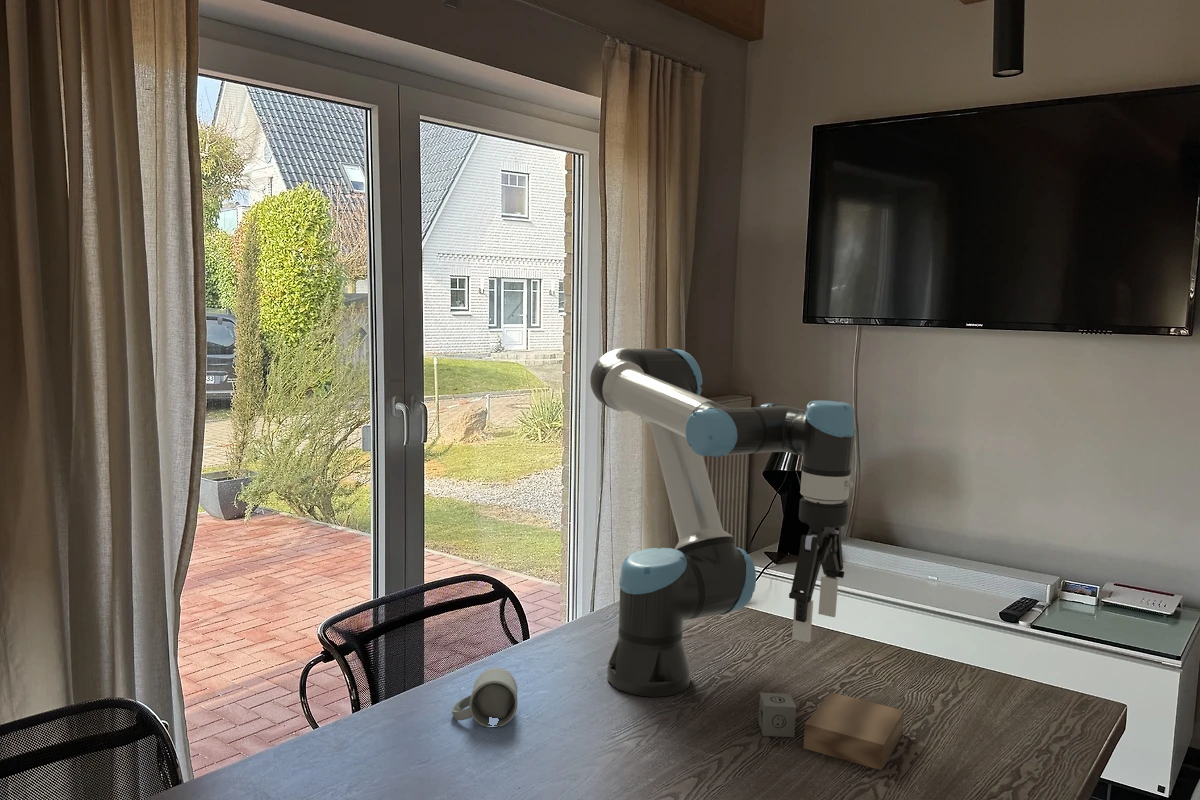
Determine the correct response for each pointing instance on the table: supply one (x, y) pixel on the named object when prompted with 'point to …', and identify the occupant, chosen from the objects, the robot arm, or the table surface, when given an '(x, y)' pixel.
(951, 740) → the table surface
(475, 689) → the ceramic mug
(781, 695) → the dice cube
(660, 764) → the table surface
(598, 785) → the table surface
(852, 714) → the brown flat block
